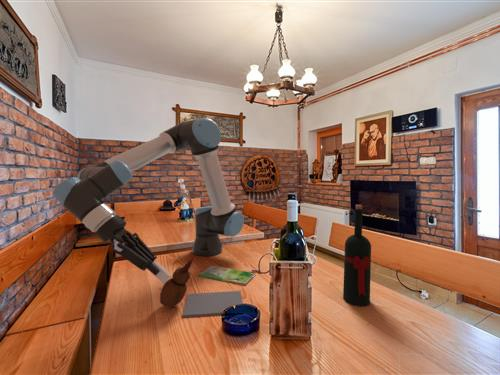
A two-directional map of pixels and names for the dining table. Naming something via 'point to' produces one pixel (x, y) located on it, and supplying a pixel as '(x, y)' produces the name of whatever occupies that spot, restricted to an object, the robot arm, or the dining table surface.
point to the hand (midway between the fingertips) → (167, 279)
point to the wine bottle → (357, 265)
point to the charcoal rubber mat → (210, 303)
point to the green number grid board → (227, 275)
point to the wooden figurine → (175, 286)
